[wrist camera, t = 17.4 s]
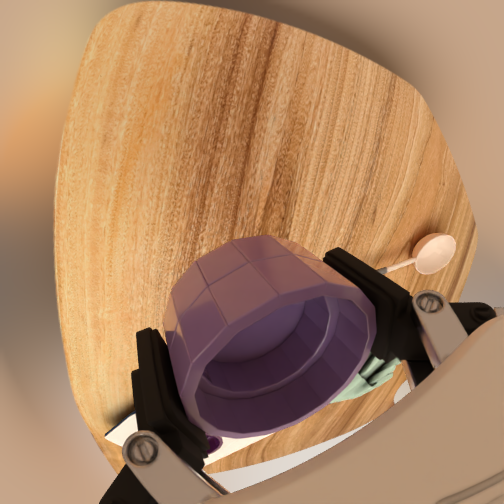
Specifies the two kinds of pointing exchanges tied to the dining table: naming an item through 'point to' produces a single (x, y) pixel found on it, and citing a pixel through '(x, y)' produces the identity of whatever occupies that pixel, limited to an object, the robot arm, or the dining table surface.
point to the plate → (229, 446)
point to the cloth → (368, 378)
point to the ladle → (428, 254)
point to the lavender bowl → (264, 336)
